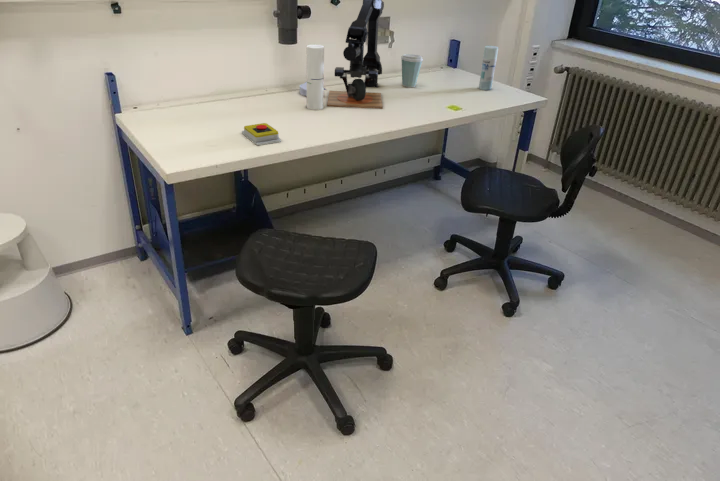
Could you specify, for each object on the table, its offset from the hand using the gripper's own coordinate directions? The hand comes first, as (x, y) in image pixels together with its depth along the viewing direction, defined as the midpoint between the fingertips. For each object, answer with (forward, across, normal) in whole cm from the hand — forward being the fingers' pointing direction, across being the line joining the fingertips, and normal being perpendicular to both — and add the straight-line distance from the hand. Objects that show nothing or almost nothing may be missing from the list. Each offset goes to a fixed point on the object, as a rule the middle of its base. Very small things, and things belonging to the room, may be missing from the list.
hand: (355, 92), depth 239 cm
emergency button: (+4, -34, -52) cm, 62 cm away
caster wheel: (+3, 0, 0) cm, 3 cm away
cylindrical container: (+4, -17, -13) cm, 22 cm away
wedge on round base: (+4, -20, +6) cm, 21 cm away
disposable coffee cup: (+4, +27, +29) cm, 40 cm away
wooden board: (+4, 0, 0) cm, 4 cm away
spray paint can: (+4, +65, +30) cm, 72 cm away
